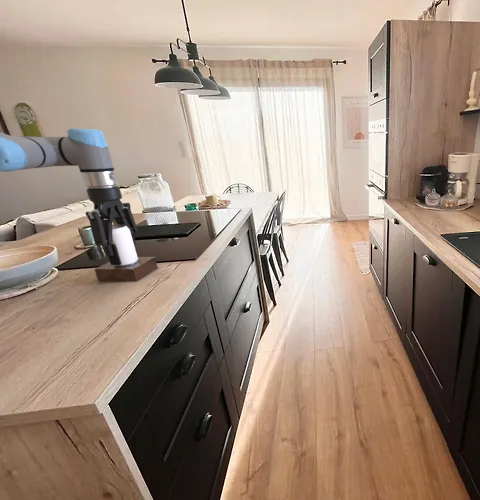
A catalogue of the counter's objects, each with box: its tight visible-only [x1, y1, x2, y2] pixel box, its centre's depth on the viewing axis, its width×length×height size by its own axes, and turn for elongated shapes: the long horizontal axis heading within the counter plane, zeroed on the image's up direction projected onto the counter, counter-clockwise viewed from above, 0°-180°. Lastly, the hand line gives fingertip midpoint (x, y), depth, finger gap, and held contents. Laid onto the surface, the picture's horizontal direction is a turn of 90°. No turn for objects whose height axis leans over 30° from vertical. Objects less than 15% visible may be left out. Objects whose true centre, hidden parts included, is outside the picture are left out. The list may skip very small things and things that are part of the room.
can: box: [106, 223, 139, 266], centre depth 89 cm, size 6×6×12 cm
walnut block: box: [94, 256, 159, 282], centre depth 92 cm, size 12×10×4 cm
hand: (125, 259), depth 91 cm, fingers closed on can, 6 cm apart
